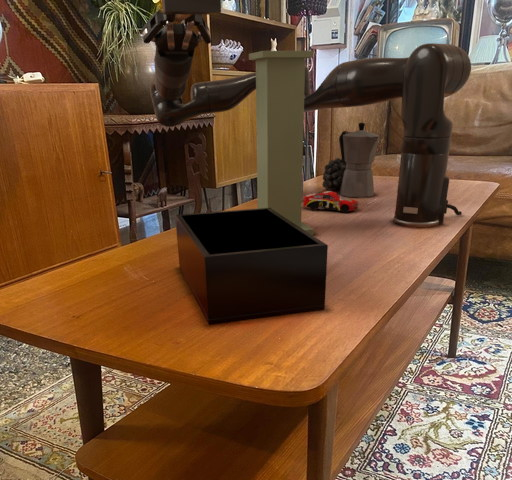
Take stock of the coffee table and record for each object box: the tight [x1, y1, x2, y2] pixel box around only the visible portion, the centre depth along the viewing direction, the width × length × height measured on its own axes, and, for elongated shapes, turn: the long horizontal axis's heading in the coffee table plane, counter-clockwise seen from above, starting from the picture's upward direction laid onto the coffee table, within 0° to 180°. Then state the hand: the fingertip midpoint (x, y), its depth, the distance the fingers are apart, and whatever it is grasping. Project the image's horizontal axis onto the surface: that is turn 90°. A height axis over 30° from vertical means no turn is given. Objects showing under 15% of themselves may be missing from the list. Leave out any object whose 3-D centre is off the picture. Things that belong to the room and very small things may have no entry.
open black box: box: [174, 208, 329, 326], centre depth 74 cm, size 24×16×9 cm, turn 16°
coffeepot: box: [338, 122, 381, 199], centre depth 137 cm, size 15×9×18 cm, turn 28°
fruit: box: [321, 157, 346, 192], centre depth 144 cm, size 9×8×15 cm
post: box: [248, 50, 315, 236], centre depth 99 cm, size 11×11×32 cm
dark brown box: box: [161, 0, 222, 23], centre depth 88 cm, size 16×9×3 cm, turn 16°
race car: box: [302, 190, 359, 214], centre depth 123 cm, size 13×5×4 cm, turn 63°
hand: (181, 1), depth 90 cm, fingers closed on dark brown box, 2 cm apart
